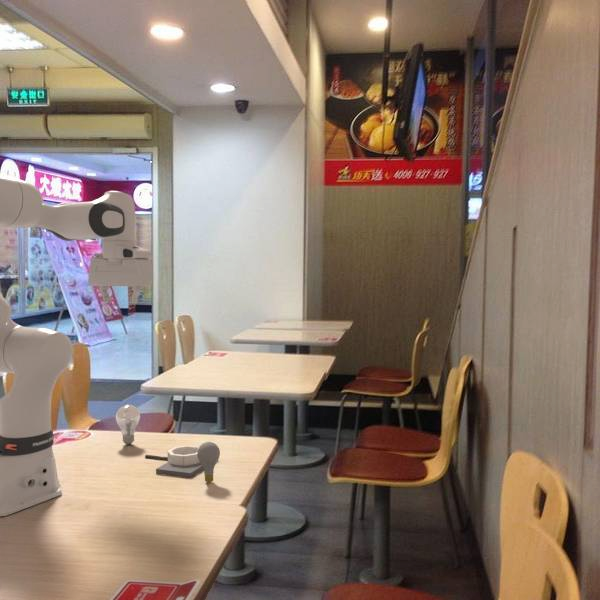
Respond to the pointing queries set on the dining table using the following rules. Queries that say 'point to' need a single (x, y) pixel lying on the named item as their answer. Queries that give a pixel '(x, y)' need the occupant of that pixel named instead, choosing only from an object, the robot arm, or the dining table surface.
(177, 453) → the lamp base
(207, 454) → the light bulb
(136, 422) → the light bulb
